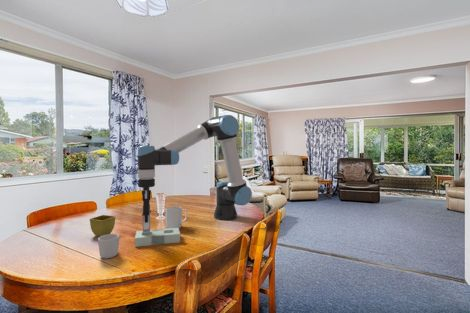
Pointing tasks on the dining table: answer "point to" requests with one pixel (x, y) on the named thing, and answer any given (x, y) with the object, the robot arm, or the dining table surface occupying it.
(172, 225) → the mug
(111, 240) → the cup
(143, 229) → the peg
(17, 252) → the dining table surface
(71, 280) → the dining table surface
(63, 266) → the dining table surface
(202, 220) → the dining table surface
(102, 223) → the flower pot
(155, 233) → the hole block
